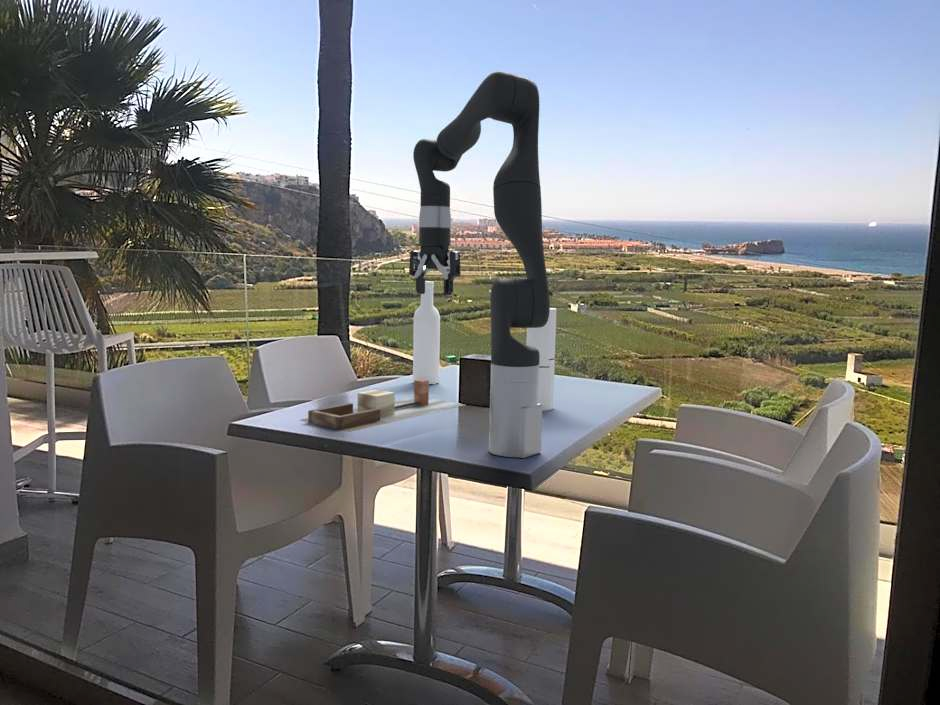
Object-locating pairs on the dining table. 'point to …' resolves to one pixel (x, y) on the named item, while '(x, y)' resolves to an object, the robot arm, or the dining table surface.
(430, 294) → the bottle
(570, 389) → the dining table surface
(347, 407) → the lane rack
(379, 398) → the rod-linked blocks
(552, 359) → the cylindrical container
